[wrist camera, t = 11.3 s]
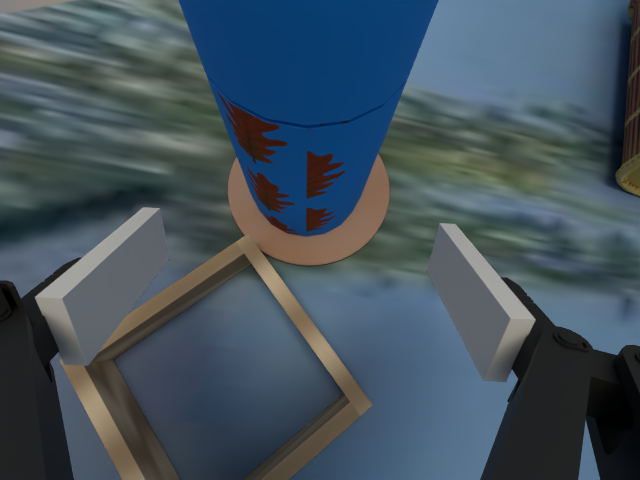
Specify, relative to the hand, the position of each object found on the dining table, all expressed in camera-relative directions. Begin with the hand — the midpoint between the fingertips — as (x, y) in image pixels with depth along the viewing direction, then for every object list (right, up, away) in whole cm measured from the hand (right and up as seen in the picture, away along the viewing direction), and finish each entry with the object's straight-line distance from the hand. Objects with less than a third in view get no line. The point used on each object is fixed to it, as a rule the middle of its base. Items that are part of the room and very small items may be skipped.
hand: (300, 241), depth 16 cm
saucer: (0, +5, +17) cm, 18 cm away
